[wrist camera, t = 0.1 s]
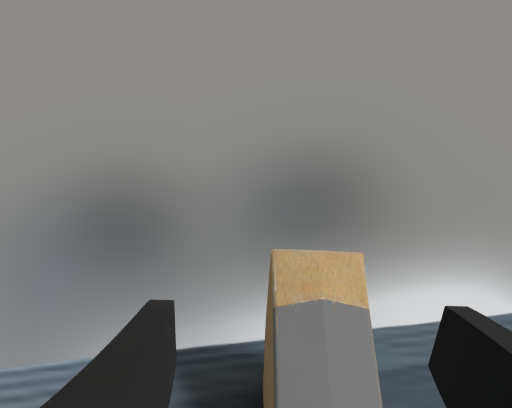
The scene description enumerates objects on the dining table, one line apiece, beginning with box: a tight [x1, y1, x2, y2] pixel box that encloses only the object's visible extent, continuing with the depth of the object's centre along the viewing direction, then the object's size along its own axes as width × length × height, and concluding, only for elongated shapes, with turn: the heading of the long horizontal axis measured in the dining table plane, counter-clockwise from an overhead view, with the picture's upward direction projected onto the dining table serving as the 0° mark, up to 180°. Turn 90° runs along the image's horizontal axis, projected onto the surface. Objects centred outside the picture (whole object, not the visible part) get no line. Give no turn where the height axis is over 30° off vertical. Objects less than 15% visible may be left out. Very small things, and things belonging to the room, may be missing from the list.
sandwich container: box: [263, 249, 382, 408], centre depth 27 cm, size 9×15×15 cm, turn 2°
